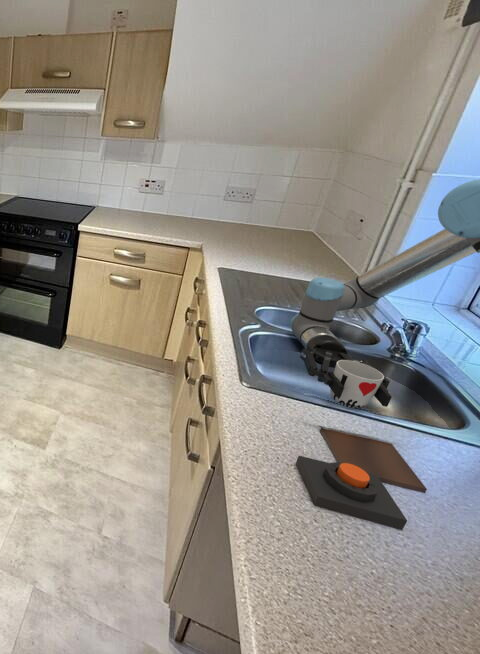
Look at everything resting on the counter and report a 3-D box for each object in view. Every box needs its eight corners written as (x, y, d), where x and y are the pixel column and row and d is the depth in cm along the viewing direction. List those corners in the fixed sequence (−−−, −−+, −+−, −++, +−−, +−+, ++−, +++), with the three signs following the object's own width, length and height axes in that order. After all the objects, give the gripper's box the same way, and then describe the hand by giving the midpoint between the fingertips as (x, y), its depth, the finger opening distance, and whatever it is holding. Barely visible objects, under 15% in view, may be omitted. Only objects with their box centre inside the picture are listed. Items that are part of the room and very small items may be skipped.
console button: (359, 474, 74) (363, 466, 73) (370, 491, 70) (374, 484, 70) (332, 467, 75) (335, 460, 75) (342, 484, 72) (345, 476, 71)
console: (372, 483, 77) (380, 467, 75) (402, 530, 68) (412, 512, 66) (295, 463, 81) (301, 447, 79) (314, 505, 72) (321, 488, 70)
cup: (321, 405, 97) (335, 369, 94) (324, 390, 103) (337, 356, 99) (367, 422, 92) (384, 385, 89) (367, 405, 98) (383, 369, 94)
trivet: (389, 447, 85) (391, 443, 85) (425, 493, 75) (427, 489, 74) (319, 431, 89) (321, 427, 89) (343, 472, 79) (345, 468, 78)
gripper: (365, 367, 109) (416, 422, 89) (274, 351, 116) (302, 399, 96) (376, 342, 106) (431, 394, 86) (282, 327, 113) (312, 371, 93)
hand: (363, 396), depth 91 cm, fingers closed on cup, 8 cm apart
